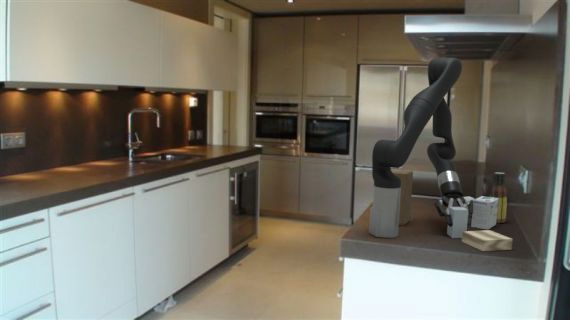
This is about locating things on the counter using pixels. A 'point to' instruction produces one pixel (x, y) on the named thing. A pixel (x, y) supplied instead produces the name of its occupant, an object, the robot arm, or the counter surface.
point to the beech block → (487, 240)
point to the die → (468, 200)
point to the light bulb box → (484, 212)
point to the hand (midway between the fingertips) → (459, 225)
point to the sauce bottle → (500, 196)
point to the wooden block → (404, 194)
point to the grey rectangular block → (458, 222)
